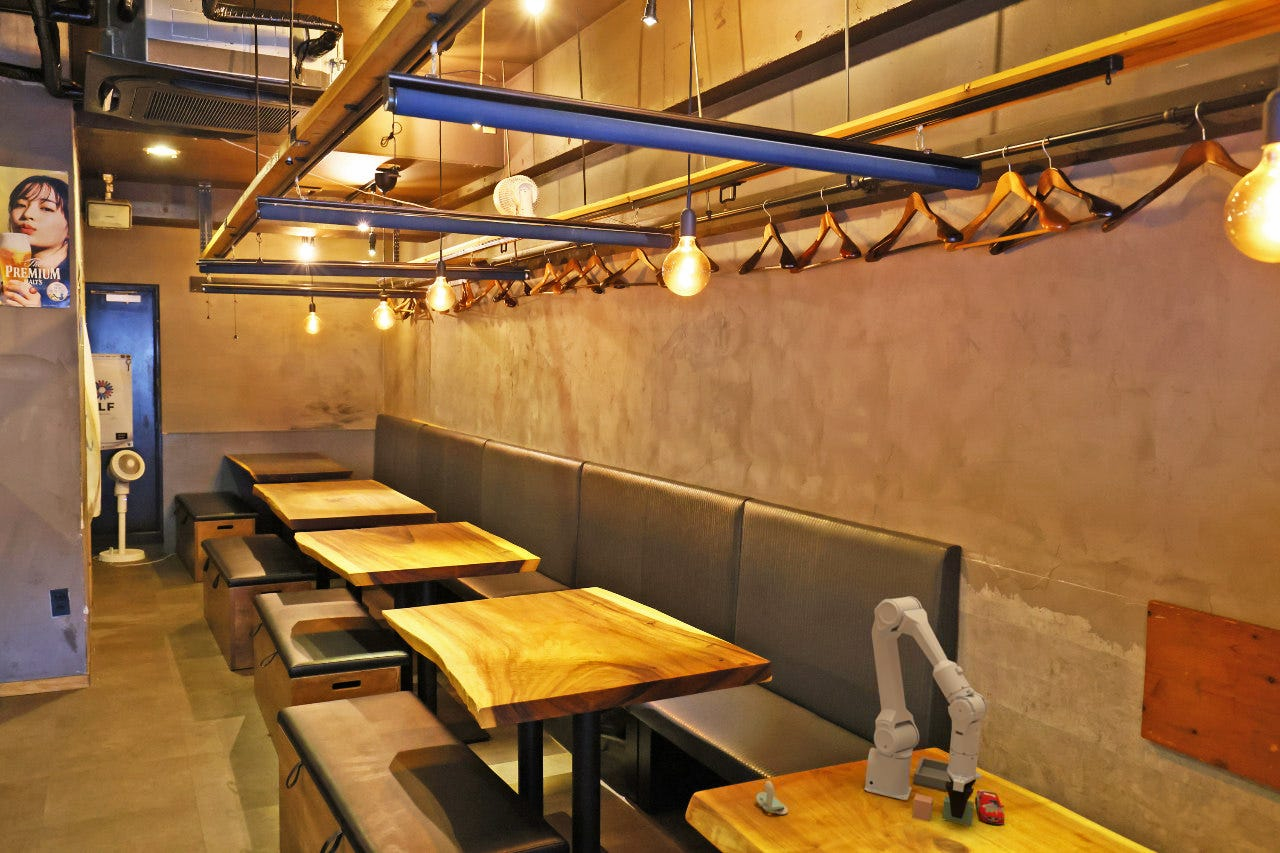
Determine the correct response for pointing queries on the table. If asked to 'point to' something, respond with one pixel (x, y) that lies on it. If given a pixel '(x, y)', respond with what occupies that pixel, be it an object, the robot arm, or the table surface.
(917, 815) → the terracotta square brick
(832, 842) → the table surface
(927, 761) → the gray tray
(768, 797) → the pacifier
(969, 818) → the green long brick
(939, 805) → the table surface
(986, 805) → the race car
